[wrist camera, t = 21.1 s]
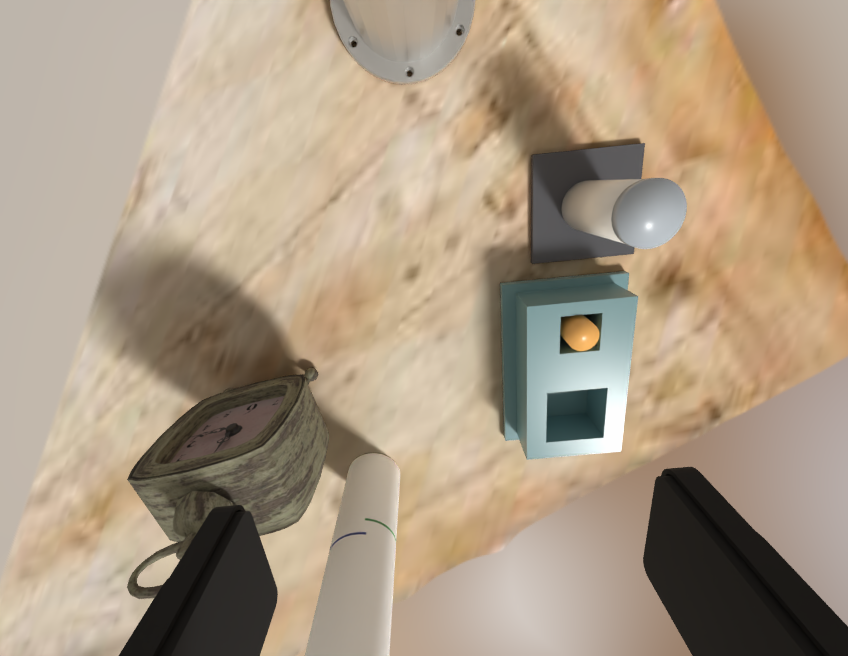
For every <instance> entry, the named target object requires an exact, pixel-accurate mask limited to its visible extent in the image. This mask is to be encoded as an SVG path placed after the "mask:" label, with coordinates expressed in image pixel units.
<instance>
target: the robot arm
mask: <svg viewBox="0 0 848 656" xmlns="http://www.w3.org/2000/svg"><path fill="white" fill-rule="evenodd" d="M330 7H331V11H332V16H333V20H334V24H335V26H336V29H337V31H338V34H339V36H340V39H341V40H342V42H343V44H344V46H345V48H346V49H347V50H348V52H349V53H350V55H351V56H352V57H353V59H354V60H355V61H356V62H357V63H358V64H359V65H360V66H361V67H362V68H363V69H364V70H366V71H367V72H369V73H370V74H372V75H373V76H375V77H376V78H379V79H381V80H384V81H386V82H389V83H395V84H401V85H402V84H415V83H419V82H422V81H426V80H428V79H430V78H432V77H434V76H435V75H437V74H439V73H440V72H441V71H442V70H444V69H445V68H446V67H447V66H448V65H449V64H450V63H451V62H452V61H453V59H454V58H455V57H456V56H457V55H458V53H459V51H460V49H461V48H462V46H463V44H464V42H465V40H466V38H467V35H468V33H469V30H470V27H471V23H472V19H473V15H474V7H475V0H330ZM458 30H460V31H461V33H462V34H461V35H460V36H458V35H457V34H456V31H458ZM353 42H356V43H357V46H356V47H352V43H353ZM409 71H411V72H412V76H411V77H408V76H407V73H408V72H409ZM643 563H644V568H645V571H646V574H647V576H648V578H649V580H650V582H651V583H652V585H653V587H654V589H655V590H656V592H657V594H658V596H659V597H660V599H661V601H662V603H663V604H664V606H665V608H666V610H667V611H668V613H669V615H670V616H671V619H672V620H673V622H674V624H675V625H676V627H677V629H678V631H679V633H680V634H681V636H682V638H683V640H684V641H685V643H686V645H687V647H688V648H689V650H690V652H691V654H692V655H693V656H848V626H847V625H846V624H845V623H844V622H843V621H842V620H841V619H840V618H839V617H838V616H837V615H836V614H835V613H834V612H833V610H832V609H831V608H830V607H829V606H828V605H827V604H826V603H825V602H824V601H823V600H822V599H821V598H820V597H819V596H818V595H817V594H816V593H815V591H814V590H812V588H811V587H810V586H809V585H808V584H807V583H806V582H805V581H804V580H803V579H802V578H801V577H800V576H799V575H798V574H797V572H795V570H794V569H793V568H792V567H791V566H790V565H789V564H788V563H787V562H786V561H785V560H784V559H783V558H782V557H781V556H780V555H779V553H778V552H777V551H776V550H775V549H774V548H773V547H772V546H771V545H770V544H769V543H768V542H767V541H766V540H765V539H764V538H763V537H762V536H761V535H760V534H758V533H757V532H756V531H755V530H754V529H753V528H752V527H751V526H750V525H749V524H748V523H747V522H746V521H745V520H744V519H743V518H742V517H741V515H739V514H738V512H737V511H736V510H735V509H734V508H733V507H732V506H731V505H730V504H729V503H728V502H727V500H726V499H725V498H724V497H723V496H722V495H721V494H720V493H719V492H718V491H717V490H716V489H715V488H714V487H713V486H712V485H711V484H710V482H709V481H708V480H707V479H706V478H705V477H704V476H703V475H702V474H701V473H700V472H699V471H698V470H697V469H695V468H693V467H683V468H671V469H664V471H663V472H662V475H661V476H658V477H657V478H656V480H655V486H654V492H653V499H652V506H651V512H650V519H649V526H648V531H647V538H646V544H645V551H644V557H643ZM277 595H278V594H277V587H276V584H275V581H274V578H273V575H272V572H271V569H270V566H269V563H268V560H267V557H266V554H265V551H264V548H263V546H262V543H261V540H260V537H259V534H258V531H257V528H256V525H255V522H254V519H253V516H252V514H251V512H250V511H245V509H244V507H243V506H242V505H233V506H221V507H215V508H213V509H212V510H211V512H210V513H209V514H208V516H207V518H206V519H205V521H204V522H203V524H202V526H201V527H200V529H199V531H198V532H197V534H196V535H195V537H194V539H193V540H192V542H191V544H190V545H189V547H188V548H187V550H186V552H185V553H184V555H183V557H182V558H181V560H180V561H179V563H178V565H177V566H176V568H175V569H174V571H173V573H172V574H171V576H170V578H168V579H167V580H166V582H165V583H164V584H163V586H162V587H161V589H160V590H159V592H158V593H157V595H156V597H155V598H154V600H153V601H152V603H151V605H150V606H149V608H148V609H147V611H146V613H145V614H144V616H143V617H142V619H141V621H140V622H139V624H138V626H137V627H136V629H135V630H134V632H133V634H132V635H131V637H130V638H129V640H128V642H127V643H126V645H125V646H124V648H123V650H122V651H121V653H120V654H119V656H260V653H261V650H262V647H263V644H264V641H265V638H266V635H267V632H268V629H269V626H270V623H271V619H272V616H273V613H274V610H275V607H276V603H277Z"/></svg>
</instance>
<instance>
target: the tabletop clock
mask: <svg viewBox="0 0 848 656" xmlns="http://www.w3.org/2000/svg"><path fill="white" fill-rule="evenodd" d="M317 376H318V372H317V370H316V369H314V368H309V369H307V370H306V371H305V374H304V375H290V376H285V377H280V378H276V379H271V380H267V381H262V382H258V383H254V384H250V385H247V386H244V387H240V388H237V389H227V390H225V391H224V392H223V393H220V394H217V395H214V396H212V397H209V398H207V399H205V400H202V401H201V402H199V403H198V404H197V405H195V406H194V407H192V408H191V409H190V410H189V411H187V412H186V413H185V414H184V415H183V416H181V417H180V418H179V419H178V420H177V421H176V422H175V423H174V424H173V425H172V426H171V427H170V428H169V429H167V430H166V431H165V432H164V433H163V434H162V435H161V436H160V437H159V438H158V439H157V440H156V442H155V443H154V444H153V445H152V446H151V447H150V448H149V449H148V450H147V452H146V453H145V454H144V455H143V456H142V457H141V458H140V460H139V461H138V462H137V464H136V465H135V466H134V468H133V469H132V471H131V473H130V475H129V477H128V479H127V480H128V481H129V482H130V484H131V485H132V487H133V488H134V490H135V491H136V492H137V494H138V495H139V497H140V498H141V500H142V501H143V502H144V504H145V505H146V507H147V508H148V509H149V511H150V512H151V514H152V515H153V517H154V518H155V519H156V521H157V522H158V524H159V525H160V527H161V528H162V529H163V531H164V532H165V534H166V535H167V536H168V538H169V539H170V540H172V541H176V542H178V543H175V544H172V545H170V546H168V547H166V548H163V549H161V550H159V551H157V552H156V553H154V554H153V555H151V556H150V557H149V558H147V559H146V560H145V561H143V562H142V563H141V564H140V565H139V566H138V567H137V568H136V569H135V570H134V572H133V573H132V575H131V576H130V578H129V582H128V586H127V588H128V591H129V593H130V594H131V595H132V596H134V597H136V598H138V599H144V598H155V597H156V595H157V593H158V592H159V590H160V589H161V587H162V586H163V585H160V586H155V587H147V588H144V587H141V586H138V584H137V578H138V576H139V574H140V573H141V572H142V571H143V570H144V569H145V568H146V567H147V566H148V565H150V564H152V563H154V562H155V561H157V560H159V559H161V558H164V557H166V556H168V555H171V554H173V553H176V557H177V558H178V559H180V560H181V558H182V557H183V555H184V553H185V552H186V550H187V548H188V547H189V545H190V544H191V542H192V540H193V539H194V537H195V535H196V534H197V532H198V531H199V529H200V527H201V526H202V524H203V522H204V521H205V519H206V518H207V516H208V514H209V513H210V512H211V510H212V509H213V508H215V507H221V506H233V505H242V506H243V507H244V509H245V511H250V512H251V514H252V516H253V519H254V522H255V525H256V528H257V531H258V534H259V536H261V535H265V534H269V533H273V532H276V531H279V530H282V529H285V528H287V527H289V526H291V525H293V524H294V523H296V522H298V521H299V520H300V518H301V517H302V516H303V514H304V513H305V511H306V509H307V508H308V506H309V504H310V502H311V500H312V497H313V495H314V492H315V490H316V487H317V484H318V482H319V479H320V477H321V473H322V469H323V465H324V461H325V457H326V452H327V447H328V441H329V432H328V430H327V427H326V425H325V423H324V420H323V418H322V416H321V413H320V411H319V409H318V407H317V404H316V402H315V400H314V397H313V395H312V393H311V390H310V388H309V386H308V384H309V382H310V381H314V380H316V379H317ZM305 378H306V379H305Z"/></svg>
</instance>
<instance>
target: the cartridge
mask: <svg viewBox="0 0 848 656" xmlns="http://www.w3.org/2000/svg"><path fill="white" fill-rule="evenodd" d="M561 210H562V216H563V219H564V221H565V222H566V223H567V225H568V226H570V227H571V228H573V229H575V230H579V231H582V232H586V233H589V234H593V235H596V236H600V237H603V238H607V239H610V240H614V241H617V242H621V243H624V244H626V245H629V246H632V247H636V248H640V249H651V248H655V247H658V246H660V245H663V244H664V243H666V242H667V241H669V240H670V239H671V238H672V237H673V236H674V235H675V234H676V233H677V232H678V230H679V229H680V228H681V226H682V224H683V221H684V219H685V215H686V210H687V204H686V198H685V195H684V193H683V191H682V189H681V188H680V187H679V186H678V185H677V184H676V183H675V182H673V181H671V180H668V179H664V178H647V179H626V180H587V181H582V182H579V183H577V184H575V185H574V186H573V187H571V188H570V189H569V190H568V192H567V193H566V195H565V197H564V199H563V202H562V209H561Z"/></svg>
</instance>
